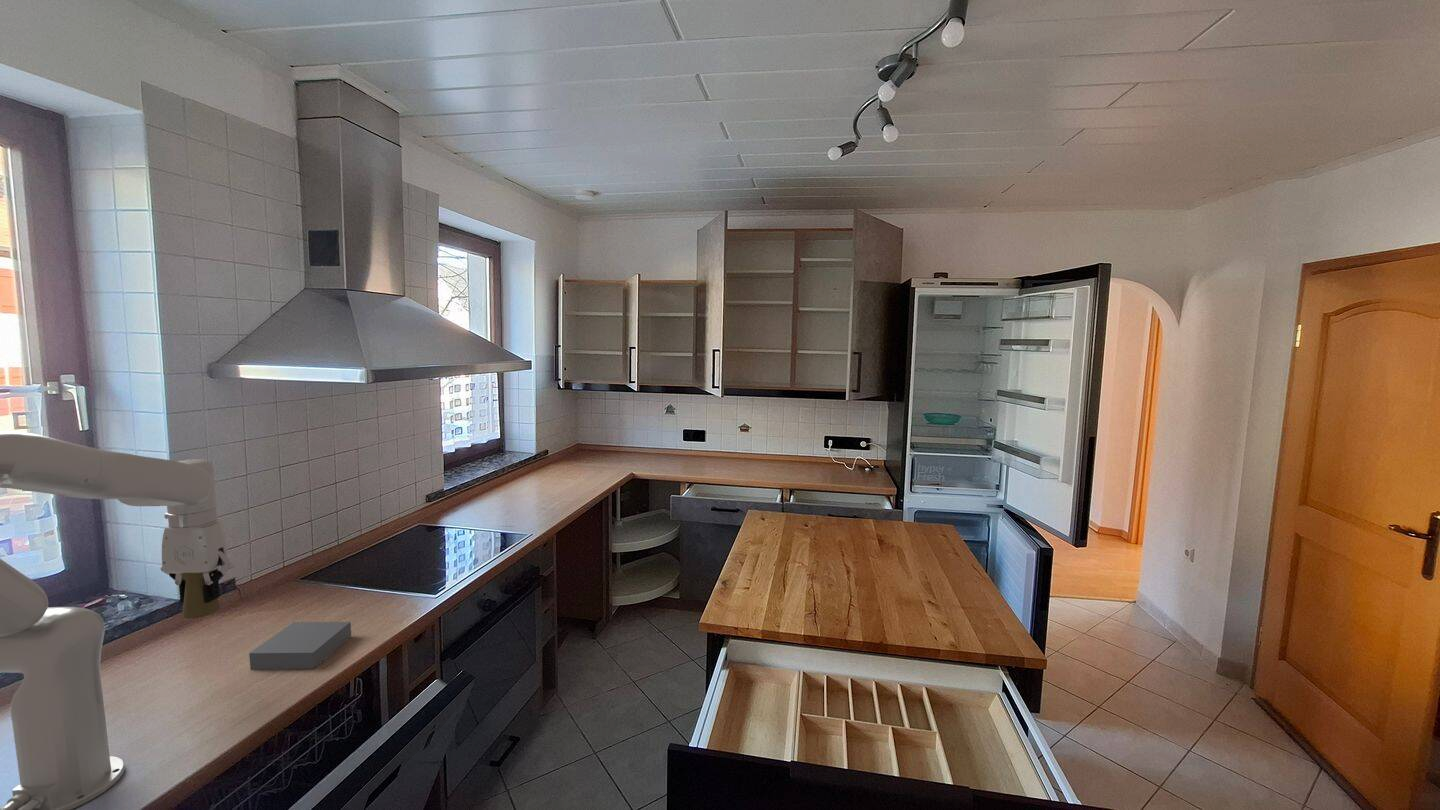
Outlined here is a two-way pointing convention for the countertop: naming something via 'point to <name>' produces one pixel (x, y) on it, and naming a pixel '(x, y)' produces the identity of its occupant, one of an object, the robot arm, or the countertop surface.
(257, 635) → the countertop surface
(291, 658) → the base block
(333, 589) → the countertop surface
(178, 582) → the robot arm
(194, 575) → the cork
